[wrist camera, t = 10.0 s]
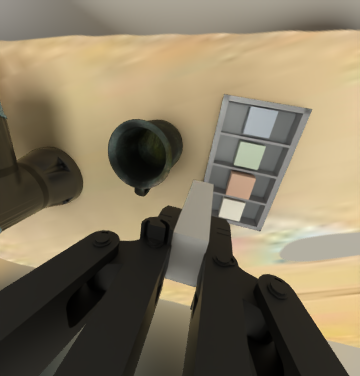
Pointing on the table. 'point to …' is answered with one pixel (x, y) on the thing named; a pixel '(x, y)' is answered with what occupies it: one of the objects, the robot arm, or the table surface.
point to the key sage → (249, 154)
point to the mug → (144, 152)
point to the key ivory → (231, 208)
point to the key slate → (259, 122)
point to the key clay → (240, 184)
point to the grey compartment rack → (270, 163)
